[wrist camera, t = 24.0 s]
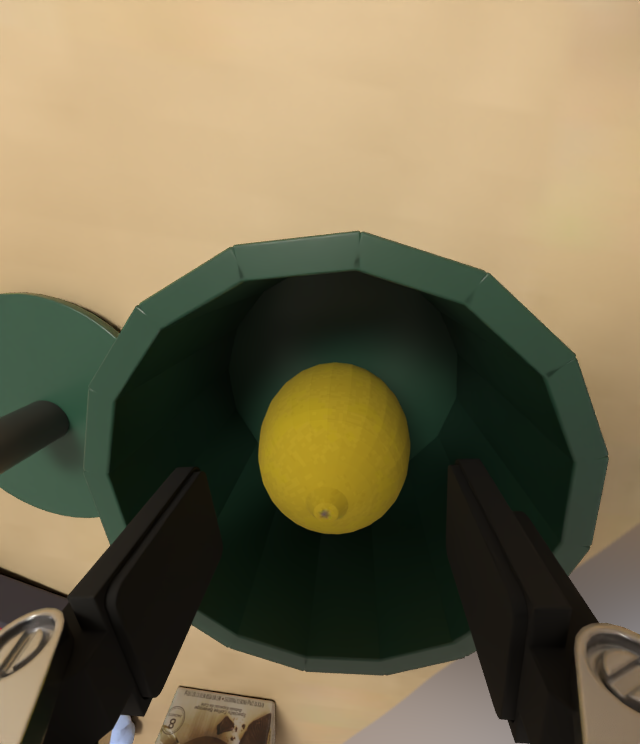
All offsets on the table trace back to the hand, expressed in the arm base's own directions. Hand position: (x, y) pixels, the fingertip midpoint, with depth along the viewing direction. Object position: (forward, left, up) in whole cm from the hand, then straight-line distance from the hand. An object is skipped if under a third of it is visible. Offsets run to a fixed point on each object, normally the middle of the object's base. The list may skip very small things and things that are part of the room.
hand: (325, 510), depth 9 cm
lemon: (0, 0, -8) cm, 8 cm away
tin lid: (+1, -18, -10) cm, 21 cm away
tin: (0, 0, -11) cm, 11 cm away
